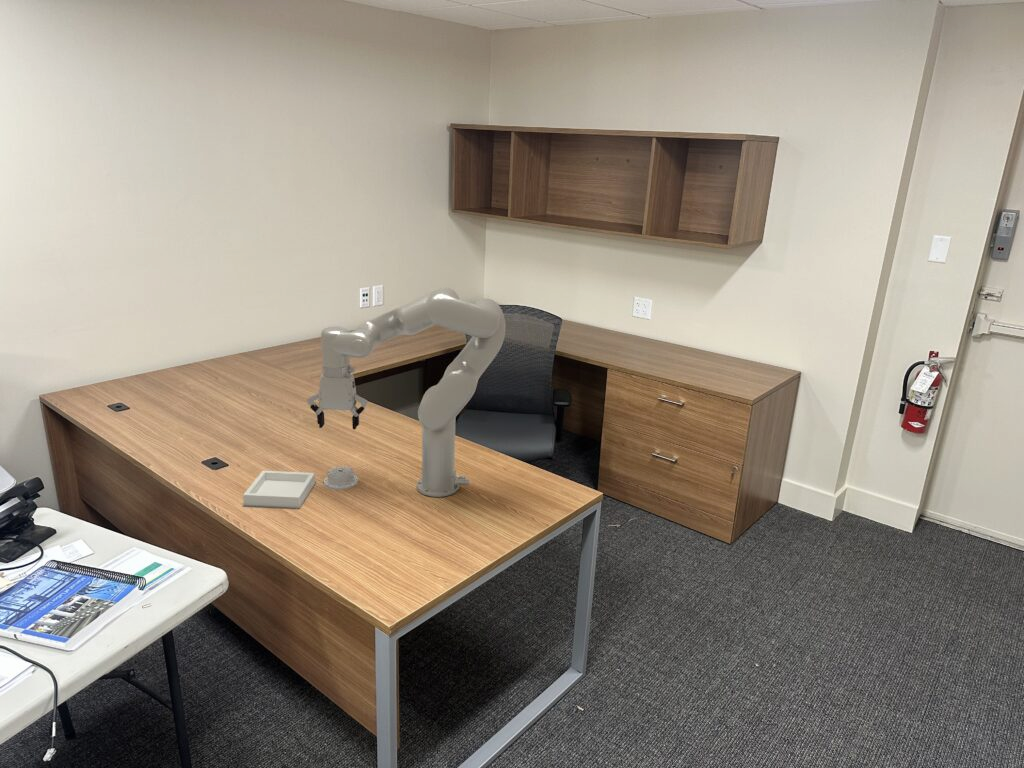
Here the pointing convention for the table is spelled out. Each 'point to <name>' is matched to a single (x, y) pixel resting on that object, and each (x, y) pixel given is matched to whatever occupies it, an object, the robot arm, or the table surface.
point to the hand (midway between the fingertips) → (338, 426)
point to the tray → (279, 489)
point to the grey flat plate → (274, 507)
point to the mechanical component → (340, 478)
